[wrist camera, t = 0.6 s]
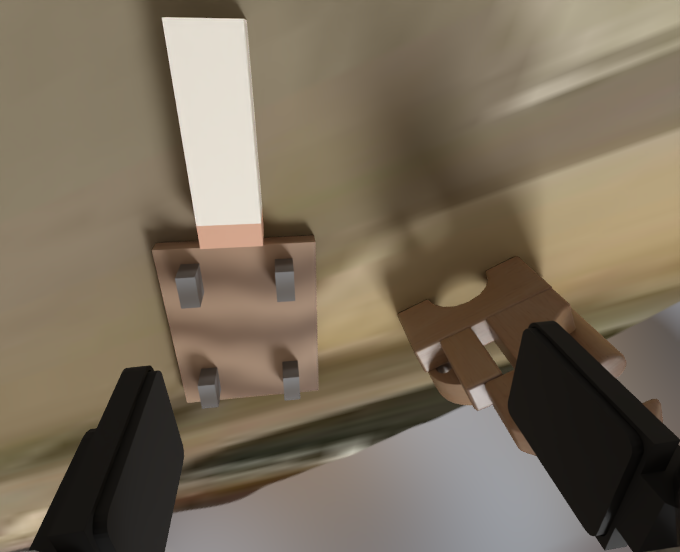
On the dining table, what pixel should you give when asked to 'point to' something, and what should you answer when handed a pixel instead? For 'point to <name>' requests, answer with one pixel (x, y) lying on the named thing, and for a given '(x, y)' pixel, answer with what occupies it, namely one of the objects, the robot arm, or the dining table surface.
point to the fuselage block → (217, 127)
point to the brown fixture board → (242, 317)
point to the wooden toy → (497, 339)
